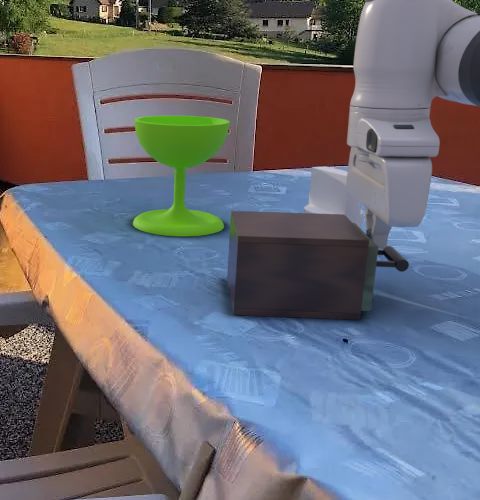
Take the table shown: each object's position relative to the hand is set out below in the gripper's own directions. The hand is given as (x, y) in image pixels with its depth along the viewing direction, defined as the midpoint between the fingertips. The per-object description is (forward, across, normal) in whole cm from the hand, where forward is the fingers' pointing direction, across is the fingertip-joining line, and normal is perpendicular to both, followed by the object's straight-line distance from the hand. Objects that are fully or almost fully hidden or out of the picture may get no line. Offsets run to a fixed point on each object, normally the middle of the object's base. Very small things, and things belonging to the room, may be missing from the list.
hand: (375, 245), depth 87 cm
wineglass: (+7, -36, -24) cm, 43 cm away
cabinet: (+7, 0, -10) cm, 12 cm away
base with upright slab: (+7, -24, 0) cm, 25 cm away
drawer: (+6, +1, -6) cm, 9 cm away
